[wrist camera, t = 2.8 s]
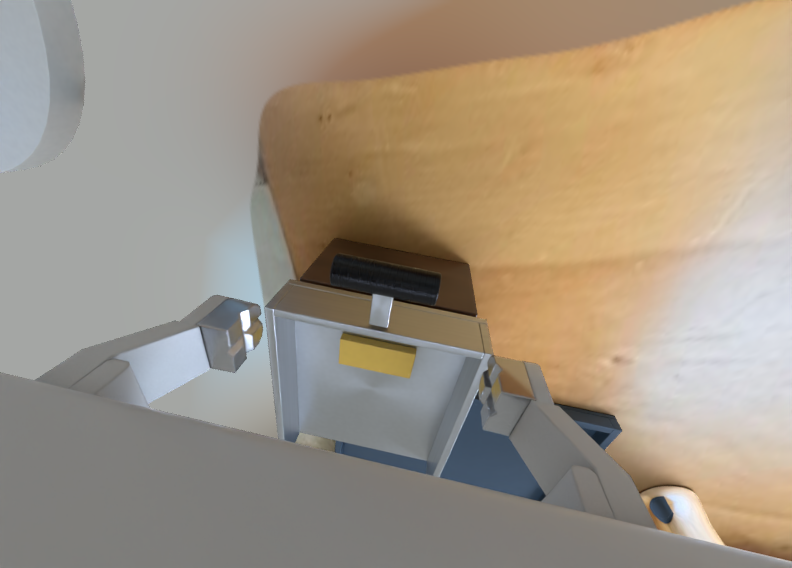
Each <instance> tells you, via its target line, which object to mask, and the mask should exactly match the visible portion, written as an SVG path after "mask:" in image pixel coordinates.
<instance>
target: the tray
mask: <svg viewBox="0 0 792 568" xmlns="http://www.w3.org/2000/svg"><path fill="white" fill-rule="evenodd" d="M554 405H556V406H559V407H560V408H561V409H562V410H563V411H565V412H566V413H567V414H568V415H569V416H570V417H571V418H572V419H573V420H574V421H575V422H576V423H577V424H578V425H579V426H580V427H581V428H582V429H583V430H584V431H585V432H586V433H587V434H588V435H589V436H590V437H591V438H592V439H593V440H594V441H595V442H596V443H597V444H598V445H599V446H600V447H601V448H602V449H603V450H605V449H606V448H607V447H608V446H609V445H610V443H611V442H612V441H613V440H614V439H615V438H616V437H617V436H618V435H619V434H620V433H621V432H622V429H621V427H620V425H619V424H618V422H617V420H616V418H615V416H611V415H607V414H602V413H597V412H593V411H588V410H583V409H579V408H574V407H569V406H564V405H560V404H555V403H554ZM482 407H483V404H482V403H481V401H480V400H479V390H478V392H477V394H476V396H475V399H474V401H473V403H472V405H471V407H470V410H469V412H468V414H467V416H466V419H465V421H464V423H463V425H462V428H461V430H460V432H459V434H458V437H457V439H456V441H455V443H454V446H453V448H452V450H451V452H450V455H449V457H448V459H447V461H446V464H445V466H444V468H443V470H442V472H441V475H440V478H444V479H448V480H453V481H457V482H461V483H465V484H469V485H473V486H478V487H482V488H486V489H490V490H494V491H499V492H503V493H507V494H511V495H515V496H519V497H524V498H528V499H532V500H536V501H540V502H541V501H542V500H543V499H544V498H545V497H546V495H545V493H544V492H543V490H542V489H541V487H540V486H539V484H538V482H537V481H536V479H535V478H534V476H533V475H532V473H531V472H530V470H529V468H528V467H527V465H526V464H525V462H524V461H523V459H522V458H521V456H520V454H519V453H518V451H517V450H516V448H515V447H514V445H513V444H512V442H511V441H510V439H509V436H505V435H501V434H497V433H493V432H489V431H485V430H483V428H482V420H481V412H480V411H481V409H482ZM335 453H339V454H343V455H347V456H352V457H356V458H360V459H364V460H368V461H373V462H377V463H381V464H385V465H390V466H394V467H398V468H402V469H406V470H411V471H415V472H419V473H423V474H426V466H427V461H425V460H421V459H416V458H412V457H407V456H403V455H398V454H394V453H390V452H385V451H381V450H376V449H372V448H367V447H363V446H358V445H354V444H350V443H345V442H341V441H336V443H335Z"/></svg>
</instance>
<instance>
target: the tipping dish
mask: <svg viewBox="0 0 792 568" xmlns="http://www.w3.org/2000/svg"><path fill="white" fill-rule="evenodd" d="M330 283H331V285H332V286H337V287H342V288H347V289H352V290H357V291H361V292H366V293H371V294H372V296H369V295H364V294H359V293H354V292H350V291H345V290H340V289H335V288H330V287H325V286H320V285H315V284H310V283H305V282H300V281H295V280H291V279H290V280H289V281H288V282H287V283H286V284H285V285H284V286H283V287H282V288H281V290H280V291H279V292H278V293H277V294H276V295H275V296H274V297H273V298H272V300H271V301H270V302H269V303H268V304H267V305H266V306H265V318H266V327H267V337H268V347H269V355H270V366H271V375H272V384H273V394H274V404H275V413H276V423H277V432H278V439H281V440H285V441H289V442H293V443H295V441H296V439H297V437H298V435H299V432H301V433H305V434H310V435H314V436H319V437H323V438H327V439H332V440H336V441H341V442H345V443H350V444H354V445H358V446H363V447H367V448H372V449H376V450H381V451H385V452H390V453H394V454H398V455H403V456H407V457H412V458H416V459H421V460H425V461H427V466H426V474H427V475H432V476H436V477H440V475H441V472H442V470H443V468H444V466H445V464H446V461H447V459H448V457H449V455H450V452H451V450H452V448H453V446H454V443H455V441H456V439H457V437H458V434H459V432H460V430H461V428H462V425H463V423H464V421H465V419H466V416H467V414H468V412H469V410H470V407H471V405H472V403H473V401H474V399H475V396H476V394H477V392H478V390H479V383H480V379H481V376H482V373H483V372H484V371H486V370H487V369H488V366H487V362H488V360H489V358H490V356H491V355H494V354H493V349H492V344H491V339H490V334H489V329H488V325H487V320H486V319H482V318H477V317H472V316H467V315H462V314H458V313H453V312H448V311H443V310H438V309H433V308H428V307H423V306H418V305H413V304H408V303H404V302H399V301H394V300H393V299H394V298H396V299H401V300H406V301H411V302H416V303H421V304H425V305H430V306H435V304H436V302H437V299H438V295H439V290H440V285H441V273H439V272H434V271H429V270H424V269H419V268H414V267H409V266H403V265H398V264H393V263H388V262H383V261H378V260H373V259H368V258H363V257H358V256H353V255H348V254H343V253H337V254H336V255H335V257H334V259H333V262H332V265H331V270H330ZM343 333H344V334H349V335H354V336H359V337H363V338H368V339H373V340H378V341H383V342H387V343H392V344H397V345H402V346H406V347H411V348H416V349H417V350H416V357H415V361H414V365H413V369H412V373H411V377H410V379H408V378H404V377H399V376H394V375H390V374H385V373H380V372H376V371H371V370H366V369H362V368H357V367H352V366H348V365H343V364H339V347H340V338H341V336H342V334H343Z"/></svg>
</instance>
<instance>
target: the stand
mask: <svg viewBox="0 0 792 568" xmlns="http://www.w3.org/2000/svg"><path fill="white" fill-rule="evenodd" d="M337 253H343V254H348V255H353V256H358V257H363V258H368V259H373V260H378V261H383V262H388V263H393V264H398V265H403V266H409V267H414V268H419V269H424V270H429V271H434V272H439V273H441V285H440V290H439V295H438V299H437V302H436V304H435V306H430V305H425V304H421V303H416V302H411V301H406V300H401V299H396V298H394V299H393V300H394V301H399V302H404V303H408V304H413V305H418V306H423V307H428V308H433V309H438V310H443V311H448V312H453V313H458V314H462V315H467V316H472V317H477V309H476V303H475V297H474V291H473V285H472V279H471V273H470V267H469V264H464V263H459V262H454V261H449V260H444V259H439V258H434V257H428V256H423V255H418V254H413V253H408V252H403V251H398V250H393V249H388V248H383V247H378V246H372V245H367V244H362V243H357V242H352V241H347V240H342V239H337V238H334V239H333V240H332V241H331V243H330V244H329V245H328V246H327V247H326V248H325V250H324V251H323V252H322V253H321V254H320V256H319V257H318V258H317V259H316V260H315V261H314V263H313V264H312V265H311V266H310V267H309V269H308V270H307V271H306V272H305V273H304V274H303V276H302V277H301V278H300V282H305V283H310V284H315V285H320V286H325V287H330V288H335V289H340V290H345V291H350V292H354V293H359V294H364V295H369V296H372V294H371V293H366V292H361V291H357V290H352V289H347V288H342V287H337V286H332V285H331V283H330V270H331V265H332V262H333V259H334V257H335V255H336V254H337Z"/></svg>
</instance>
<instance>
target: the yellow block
mask: <svg viewBox="0 0 792 568" xmlns="http://www.w3.org/2000/svg"><path fill="white" fill-rule="evenodd" d="M416 350H417V349H416V348H411V347H406V346H402V345H397V344H392V343H387V342H383V341H378V340H373V339H368V338H363V337H359V336H354V335H349V334H344V333H343V334H342V336H341V338H340V347H339V364H343V365H348V366H352V367H357V368H362V369H366V370H371V371H376V372H380V373H385V374H390V375H394V376H399V377H404V378H408V379H410V377H411V373H412V369H413V365H414V361H415V357H416Z"/></svg>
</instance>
